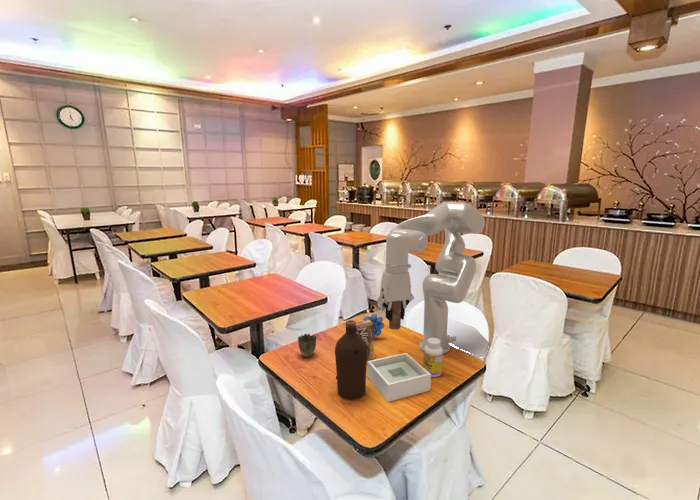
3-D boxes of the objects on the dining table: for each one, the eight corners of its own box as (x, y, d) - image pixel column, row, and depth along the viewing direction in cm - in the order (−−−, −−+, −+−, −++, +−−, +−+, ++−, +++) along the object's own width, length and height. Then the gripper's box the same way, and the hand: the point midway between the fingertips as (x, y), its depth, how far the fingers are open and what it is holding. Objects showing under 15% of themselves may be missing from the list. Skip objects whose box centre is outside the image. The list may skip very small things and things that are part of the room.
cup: (295, 358, 143) (294, 339, 141) (304, 350, 149) (303, 332, 148) (311, 361, 140) (311, 343, 138) (320, 353, 147) (319, 335, 145)
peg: (397, 324, 129) (398, 292, 127) (402, 328, 125) (403, 296, 123) (387, 325, 128) (388, 293, 125) (392, 330, 124) (393, 297, 122)
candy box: (369, 354, 145) (369, 319, 142) (374, 359, 141) (374, 323, 138) (349, 359, 141) (348, 323, 138) (354, 364, 138) (353, 327, 134)
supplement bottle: (419, 370, 133) (420, 338, 130) (434, 366, 136) (435, 335, 133) (430, 379, 127) (431, 346, 124) (445, 375, 130) (447, 342, 127)
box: (406, 367, 135) (406, 352, 134) (430, 390, 121) (431, 374, 119) (367, 376, 129) (367, 361, 128) (388, 401, 115) (388, 385, 114)
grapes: (382, 334, 163) (383, 309, 160) (385, 341, 156) (385, 315, 154) (357, 335, 162) (357, 310, 160) (358, 342, 155) (358, 316, 153)
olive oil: (373, 390, 121) (373, 321, 116) (353, 405, 113) (352, 332, 108) (349, 379, 128) (349, 313, 123) (329, 392, 120) (327, 323, 115)
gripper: (412, 264, 129) (410, 312, 132) (369, 267, 123) (368, 318, 127) (423, 269, 122) (421, 320, 125) (378, 273, 116) (377, 326, 120)
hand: (395, 318), depth 126 cm, fingers closed on peg, 4 cm apart
